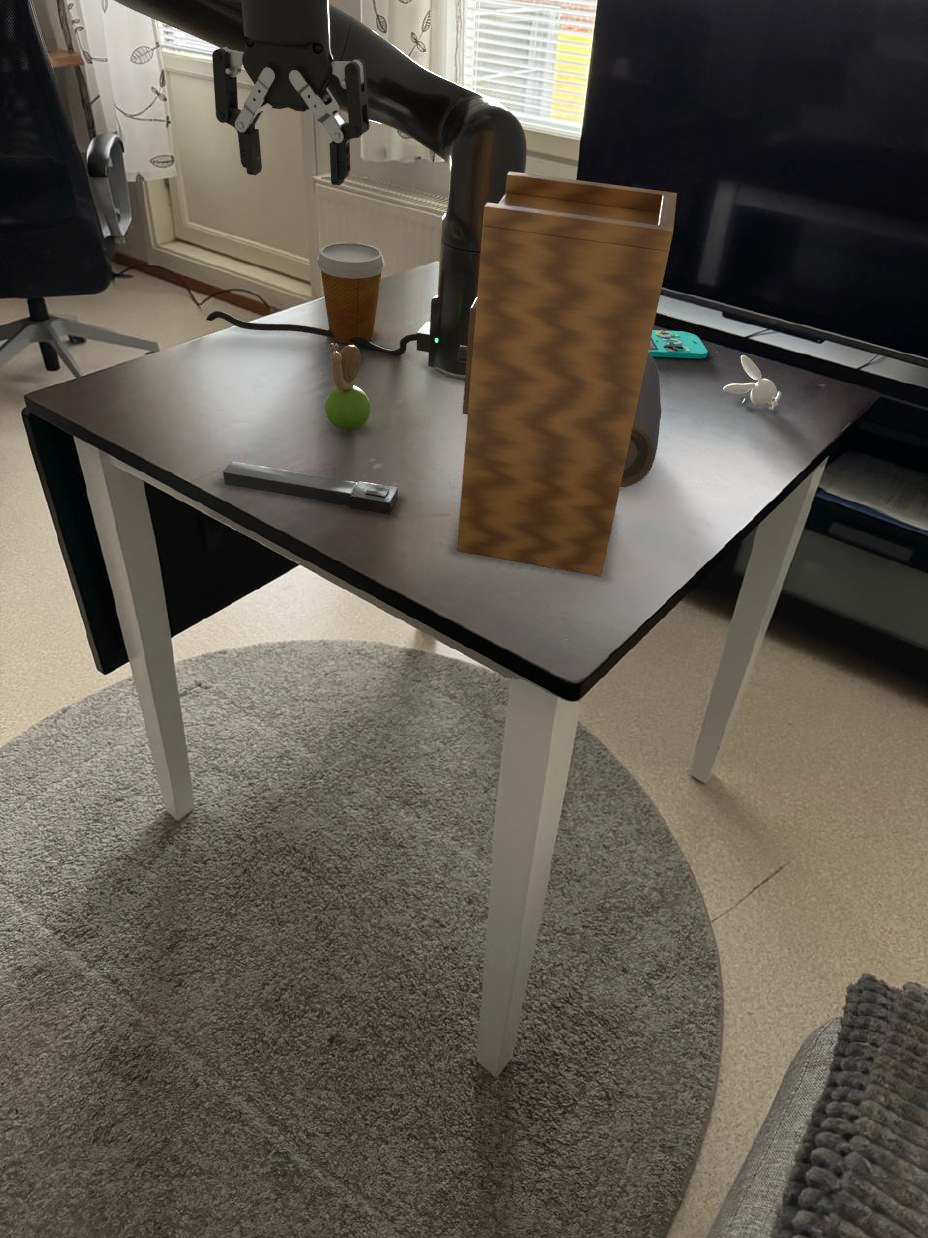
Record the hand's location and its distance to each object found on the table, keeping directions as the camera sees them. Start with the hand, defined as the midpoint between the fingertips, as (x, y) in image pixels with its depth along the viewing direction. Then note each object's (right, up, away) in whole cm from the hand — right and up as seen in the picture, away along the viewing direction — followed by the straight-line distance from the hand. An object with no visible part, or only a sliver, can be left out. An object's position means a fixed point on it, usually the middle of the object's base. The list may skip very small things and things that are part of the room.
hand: (296, 178), depth 89 cm
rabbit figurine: (+55, -13, +38) cm, 68 cm away
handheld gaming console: (+45, -1, +51) cm, 68 cm away
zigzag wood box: (+24, -34, +9) cm, 42 cm away
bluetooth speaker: (+35, -22, +24) cm, 48 cm away
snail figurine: (+2, -20, +23) cm, 31 cm away
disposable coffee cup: (0, -1, +46) cm, 46 cm away
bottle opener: (0, -29, +11) cm, 31 cm away
